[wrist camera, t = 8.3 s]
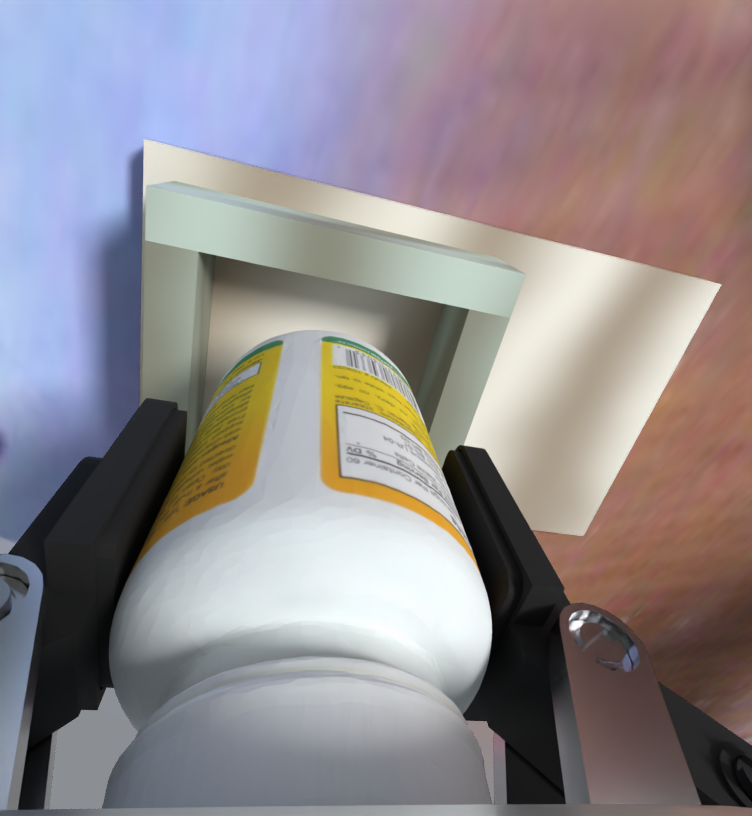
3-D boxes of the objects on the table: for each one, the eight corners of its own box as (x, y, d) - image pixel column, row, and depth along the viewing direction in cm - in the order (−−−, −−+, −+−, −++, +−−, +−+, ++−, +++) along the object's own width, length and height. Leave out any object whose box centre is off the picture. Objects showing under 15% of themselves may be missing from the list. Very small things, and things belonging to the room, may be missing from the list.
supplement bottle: (414, 316, 12) (659, 729, 3) (413, 491, 14) (552, 979, 6) (189, 332, 11) (-189, 847, 3) (229, 508, 14) (91, 1061, 5)
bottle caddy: (704, 279, 17) (783, 304, 14) (574, 523, 21) (613, 579, 18) (153, 140, 13) (107, 136, 10) (145, 469, 18) (112, 529, 15)
